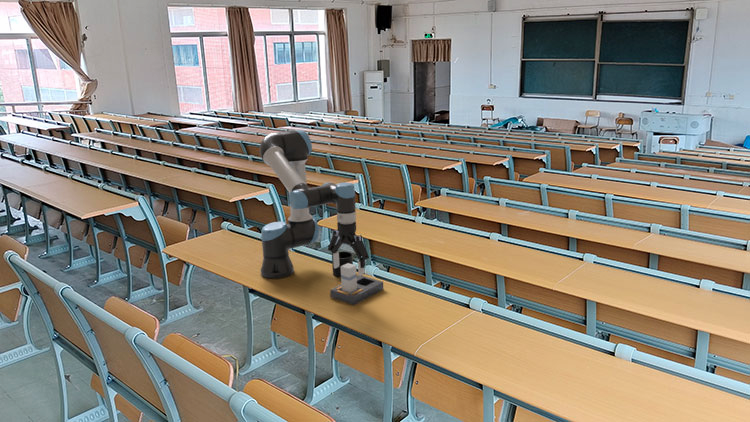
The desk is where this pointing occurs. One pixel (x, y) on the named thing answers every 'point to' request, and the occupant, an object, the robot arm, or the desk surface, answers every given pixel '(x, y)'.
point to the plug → (349, 278)
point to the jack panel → (358, 290)
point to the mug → (342, 262)
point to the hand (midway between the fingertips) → (348, 271)
